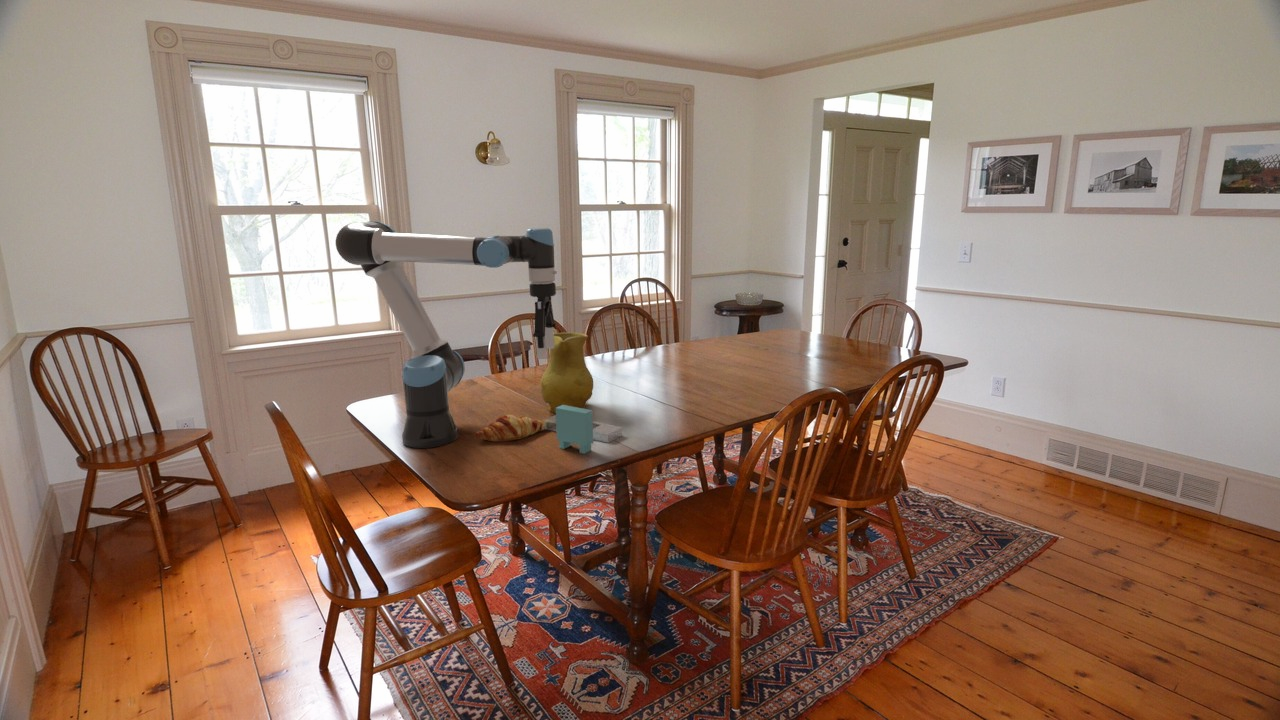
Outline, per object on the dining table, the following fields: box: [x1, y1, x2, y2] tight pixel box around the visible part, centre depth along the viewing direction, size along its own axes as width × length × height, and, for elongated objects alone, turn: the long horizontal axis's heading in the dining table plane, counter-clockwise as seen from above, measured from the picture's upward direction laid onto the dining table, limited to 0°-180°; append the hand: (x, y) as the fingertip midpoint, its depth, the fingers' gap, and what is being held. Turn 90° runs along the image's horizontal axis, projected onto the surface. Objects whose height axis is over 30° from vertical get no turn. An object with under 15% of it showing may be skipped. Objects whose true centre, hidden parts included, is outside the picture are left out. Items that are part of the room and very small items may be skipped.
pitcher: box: [540, 331, 594, 414], centre depth 212 cm, size 17×19×25 cm
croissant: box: [475, 414, 547, 443], centre depth 188 cm, size 21×10×8 cm, turn 121°
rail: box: [541, 414, 623, 444], centre depth 191 cm, size 7×24×2 cm, turn 58°
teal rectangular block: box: [555, 405, 594, 455], centre depth 177 cm, size 3×10×12 cm, turn 58°
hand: (546, 353), depth 194 cm, fingers open, 13 cm apart
